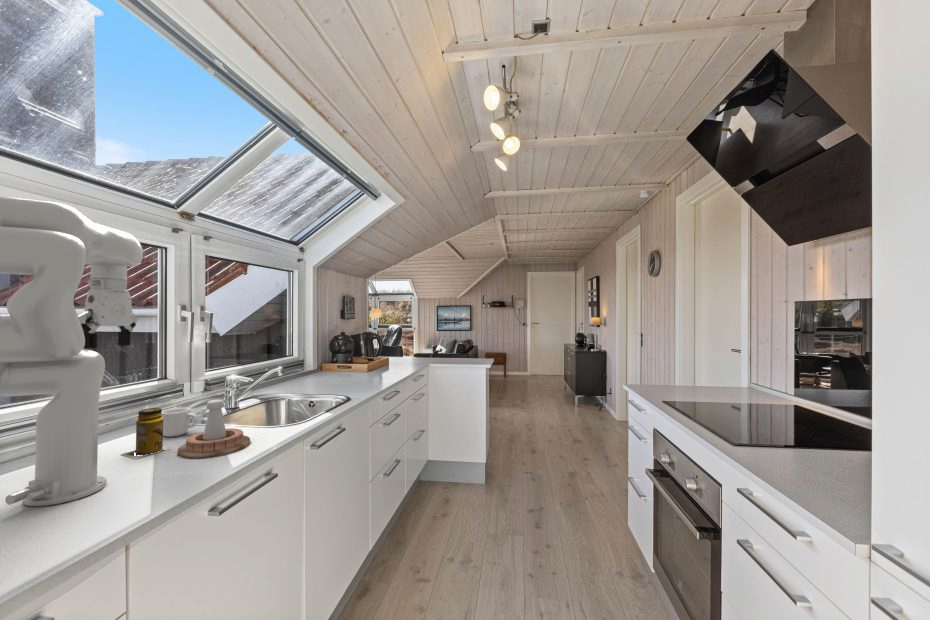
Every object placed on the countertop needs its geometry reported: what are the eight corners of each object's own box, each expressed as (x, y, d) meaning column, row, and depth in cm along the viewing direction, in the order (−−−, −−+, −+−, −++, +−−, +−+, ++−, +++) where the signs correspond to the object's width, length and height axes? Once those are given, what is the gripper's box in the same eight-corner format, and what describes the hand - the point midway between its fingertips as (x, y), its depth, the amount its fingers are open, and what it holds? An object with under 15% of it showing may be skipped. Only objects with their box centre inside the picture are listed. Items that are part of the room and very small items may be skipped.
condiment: (169, 449, 111) (170, 408, 111) (135, 459, 103) (136, 415, 104) (155, 445, 114) (155, 405, 114) (120, 455, 106) (121, 412, 106)
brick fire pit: (224, 459, 104) (224, 446, 104) (160, 457, 104) (160, 445, 104) (262, 438, 122) (262, 427, 122) (207, 437, 122) (208, 426, 122)
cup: (204, 430, 129) (204, 407, 129) (189, 438, 121) (189, 413, 121) (171, 431, 128) (171, 407, 129) (153, 438, 120) (154, 413, 121)
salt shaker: (216, 447, 110) (217, 402, 110) (197, 447, 110) (198, 402, 110) (230, 441, 115) (231, 398, 116) (212, 440, 116) (212, 398, 116)
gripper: (89, 283, 98) (88, 349, 98) (148, 288, 115) (147, 344, 115) (62, 283, 98) (60, 349, 98) (125, 288, 116) (124, 344, 115)
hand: (107, 346), depth 107 cm, fingers open, 9 cm apart
